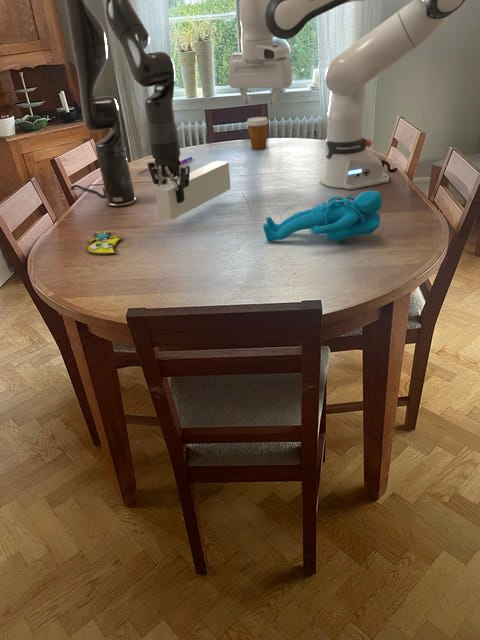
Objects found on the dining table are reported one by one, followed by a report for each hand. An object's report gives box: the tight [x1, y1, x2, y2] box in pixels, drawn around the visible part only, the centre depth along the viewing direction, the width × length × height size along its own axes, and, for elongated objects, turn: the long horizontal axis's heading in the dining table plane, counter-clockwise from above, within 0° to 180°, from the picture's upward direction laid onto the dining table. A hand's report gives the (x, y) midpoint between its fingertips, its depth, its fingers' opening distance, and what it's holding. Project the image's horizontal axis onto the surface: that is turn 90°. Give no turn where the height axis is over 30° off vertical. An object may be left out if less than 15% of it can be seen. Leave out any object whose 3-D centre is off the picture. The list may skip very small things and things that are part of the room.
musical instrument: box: [138, 156, 193, 175], centre depth 196 cm, size 24×2×20 cm
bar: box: [153, 160, 231, 221], centre depth 142 cm, size 28×5×8 cm, turn 144°
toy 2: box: [262, 190, 383, 243], centre depth 124 cm, size 17×11×30 cm
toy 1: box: [87, 230, 123, 255], centre depth 134 cm, size 10×1×15 cm
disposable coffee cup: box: [246, 116, 269, 150], centre depth 210 cm, size 10×10×12 cm
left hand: (173, 200), depth 136 cm, fingers closed on bar, 5 cm apart
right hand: (260, 104), depth 142 cm, fingers open, 8 cm apart
